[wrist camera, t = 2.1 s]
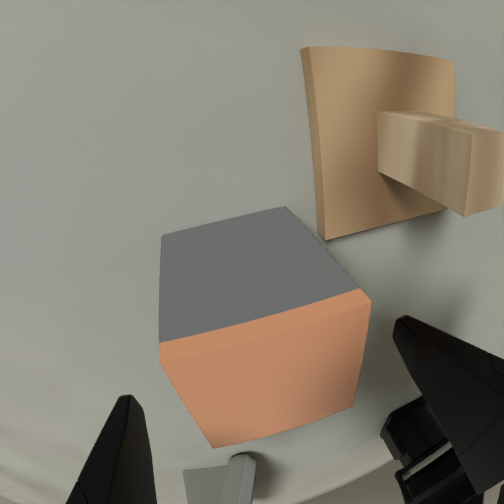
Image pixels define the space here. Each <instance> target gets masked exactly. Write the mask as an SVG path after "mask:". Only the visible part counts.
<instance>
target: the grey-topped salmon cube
mask: <svg viewBox="0 0 504 504" xmlns="http://www.w3.org/2000/svg"><path fill="white" fill-rule="evenodd" d="M371 304H372V301H371V300H370V299H369V298H368V297H367V295H366V294H365V293H364V292H363V291H362V290H361V289H360V287H359V286H358V285H357V284H356V283H355V282H354V281H353V279H352V278H351V277H350V276H349V275H348V274H347V273H346V271H345V270H344V269H343V268H342V267H341V266H340V265H339V264H338V262H337V261H336V260H335V259H334V258H333V257H332V256H331V255H330V254H329V253H328V251H327V250H326V249H325V248H324V247H323V246H322V245H321V244H320V243H319V242H318V240H317V239H316V238H315V237H314V236H313V235H312V234H311V233H310V232H309V231H308V230H307V229H306V228H305V226H304V225H303V224H302V223H301V222H300V221H299V220H298V219H297V218H296V217H295V216H294V215H293V214H292V213H291V212H290V211H289V210H288V209H287V207H286V206H284V207H280V208H275V209H271V210H266V211H262V212H257V213H253V214H249V215H244V216H240V217H236V218H231V219H227V220H223V221H219V222H215V223H210V224H206V225H202V226H198V227H194V228H190V229H186V230H182V231H178V232H174V233H170V234H166V235H162V240H161V258H160V284H159V362H160V363H161V365H162V367H163V369H164V371H165V372H166V374H167V376H168V378H169V379H170V381H171V383H172V385H173V386H174V388H175V390H176V391H177V393H178V395H179V396H180V398H181V400H182V401H183V403H184V405H185V406H186V408H187V409H188V411H189V413H190V414H191V416H192V417H193V419H194V420H195V422H196V423H197V425H198V427H199V428H200V430H201V431H202V433H203V434H204V436H205V437H206V438H207V440H208V441H209V443H210V444H211V446H212V447H213V449H214V448H219V447H224V446H229V445H233V444H237V443H242V442H246V441H250V440H254V439H257V438H261V437H265V436H269V435H272V434H276V433H279V432H282V431H286V430H289V429H292V428H295V427H298V426H301V425H304V424H307V423H310V422H313V421H316V420H319V419H321V418H324V417H327V416H330V415H332V414H335V413H337V412H340V411H342V410H345V409H347V408H350V407H352V406H353V402H354V398H355V393H356V389H357V384H358V380H359V375H360V370H361V365H362V360H363V354H364V349H365V343H366V337H367V331H368V325H369V318H370V311H371Z"/></svg>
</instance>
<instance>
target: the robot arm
mask: <svg viewBox="0 0 504 504" xmlns="http://www.w3.org/2000/svg"><path fill="white" fill-rule="evenodd" d="M393 340H394V343H395V345H396V347H397V349H398V351H399V353H400V355H401V357H402V359H403V361H404V363H405V365H406V367H407V369H408V371H409V373H410V375H411V377H412V378H413V380H414V382H415V383H416V385H417V386H418V388H419V390H420V391H421V393H422V395H423V397H422V398H420V399H418V400H416V401H414V402H413V403H411V404H409V405H407V406H405V407H403V408H401V409H399V410H398V411H396V412H394V413H392V414H391V415H390V416H389V418H388V420H387V422H386V424H385V426H384V429H383V431H382V433H381V435H380V437H381V438H383V440H384V442H385V444H386V445H387V447H388V449H389V451H390V452H391V454H392V456H393V458H394V459H395V460H400V462H401V463H402V465H403V467H404V468H403V469H401V470H398V471H397V472H396V474H395V475H394V476H395V478H396V479H397V481H398V483H399V486H400V488H401V492H402V495H403V499H404V502H405V504H484V500H485V491H486V490H488V489H490V488H491V487H493V486H495V485H496V484H498V483H499V482H501V481H503V480H504V359H502V358H500V357H497V356H495V355H493V354H491V353H488V352H486V351H484V350H482V349H480V348H478V347H476V346H474V345H471V344H469V343H467V342H465V341H463V340H461V339H459V338H456V337H454V336H452V335H450V334H448V333H446V332H443V331H441V330H439V329H437V328H435V327H433V326H430V325H428V324H426V323H424V322H422V321H420V320H417V319H415V318H413V317H411V316H409V315H404V316H402V317H399V318H397V319H396V322H395V326H394V330H393ZM450 445H452V447H451V448H450V449H449V450H447V451H446V452H445V453H443V454H442V455H441V456H439V457H438V458H437V459H435V460H434V461H432V462H431V463H429V464H428V465H426V466H425V467H424V468H422V469H421V470H419V471H417V472H416V473H414V474H413V475H411V474H410V473H412V472H413V471H415V470H416V469H418V468H419V467H421V466H422V465H424V464H425V463H427V462H428V461H430V460H431V459H432V458H434V457H435V456H437V455H438V454H439V453H441V452H442V451H443V450H445V449H446V448H447V447H449V446H450ZM65 504H157V499H156V491H155V483H154V474H153V464H152V454H151V448H150V443H149V438H148V432H147V427H146V421H145V415H144V411H143V408H142V407H141V405H140V404H139V403H138V402H137V400H136V399H135V398H134V396H133V395H131V394H129V395H122V396H120V397H119V398H118V400H117V402H116V404H115V406H114V407H113V409H112V411H111V413H110V415H109V417H108V419H107V421H106V423H105V425H104V427H103V429H102V431H101V433H100V435H99V437H98V439H97V441H96V443H95V445H94V447H93V449H92V451H91V453H90V455H89V457H88V459H87V461H86V463H85V465H84V467H83V469H82V471H81V473H80V475H79V477H78V481H76V483H75V486H74V488H73V490H72V492H71V494H70V496H69V498H68V500H67V502H66V503H65ZM497 504H504V484H503V485H502V486H501V489H500V493H499V498H498V502H497Z"/></svg>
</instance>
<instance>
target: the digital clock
mask: <svg viewBox="0 0 504 504" xmlns="http://www.w3.org/2000/svg"><path fill="white" fill-rule="evenodd" d="M255 476H256V461H255V460H253V459H252V458H251V457H250V456H248V455H246V454H240V455H236V456H234V457H232V458H230V459H229V462H228V465H225V466H218V467H210V468H202V469H192V470H185V471H183V477H184V483H185V489H186V495H187V500H188V504H252V500H253V492H254V484H255Z"/></svg>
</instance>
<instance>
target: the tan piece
mask: <svg viewBox="0 0 504 504" xmlns="http://www.w3.org/2000/svg"><path fill="white" fill-rule="evenodd" d="M300 50H301V57H302V64H303V71H304V78H305V86H306V94H307V103H308V112H309V121H310V131H311V142H312V153H313V165H314V178H315V193H316V209H317V229H318V234H319V235H320V236H321V237H322V238H323V239H324V240H329V239H333V238H337V237H341V236H345V235H349V234H353V233H356V232H360V231H364V230H368V229H372V228H376V227H380V226H384V225H387V224H391V223H395V222H399V221H403V220H407V219H410V218H414V217H418V216H422V215H426V214H429V213H433V212H437V211H441V210H445V209H448V208H449V209H451V210H453V211H454V212H456V213H458V214H459V215H461V216H463V217H466V216H469V215H472V214H476V213H479V212H482V211H485V210H488V209H491V208H495V207H498V206H501V205H503V201H504V133H502V132H499V131H496V130H493V129H490V128H486V127H483V126H480V125H476V124H473V123H469V122H465V121H461V120H458V119H456V94H455V76H454V64H453V61H449V60H444V59H440V58H434V57H429V56H423V55H417V54H411V53H404V52H396V51H388V50H378V49H367V48H351V47H306V48H303V49H300Z"/></svg>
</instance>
